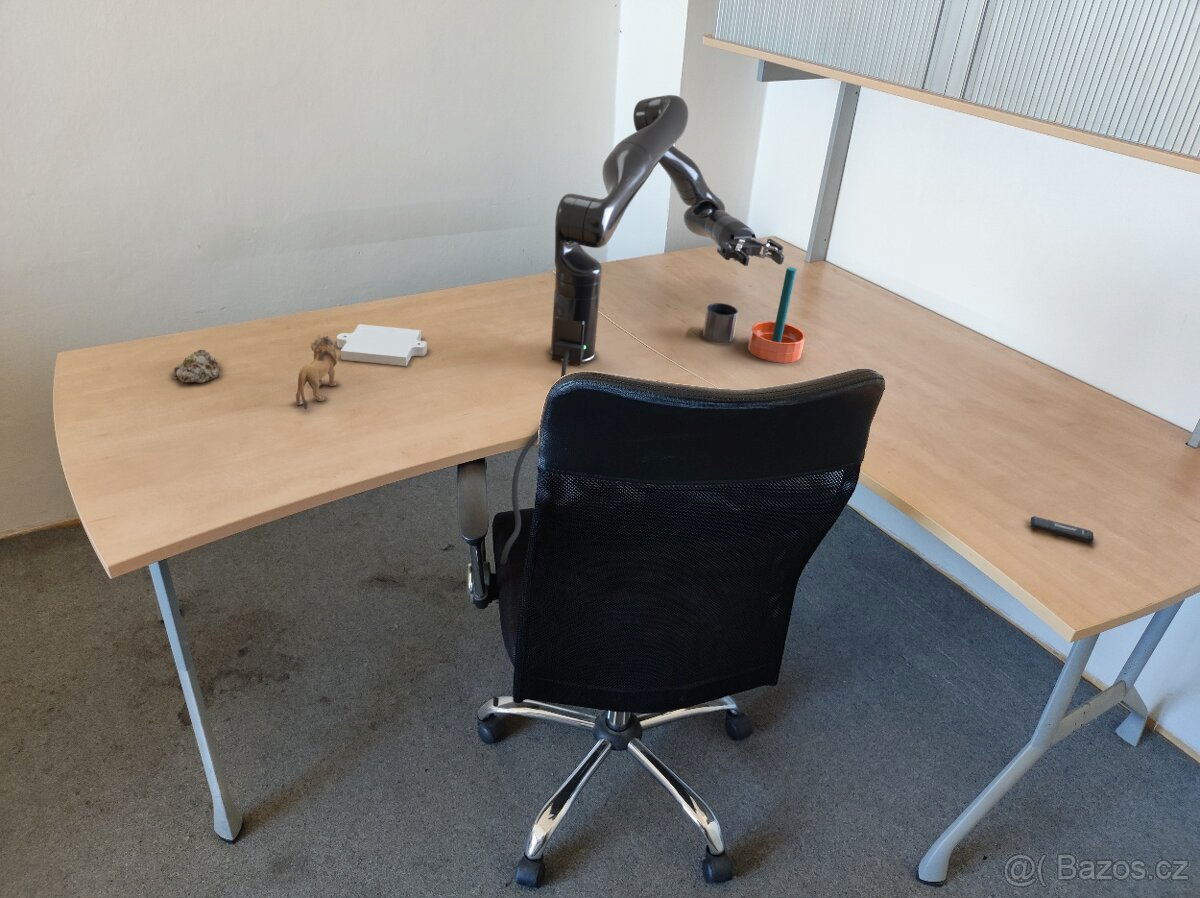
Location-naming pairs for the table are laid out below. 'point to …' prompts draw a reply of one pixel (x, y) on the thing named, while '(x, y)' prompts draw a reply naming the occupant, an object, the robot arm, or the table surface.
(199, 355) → the mineral rock
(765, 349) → the bowl
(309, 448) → the table surface
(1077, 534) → the usb stick
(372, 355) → the mounting plate
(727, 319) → the tumbler
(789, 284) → the straw
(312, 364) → the lion figurine
